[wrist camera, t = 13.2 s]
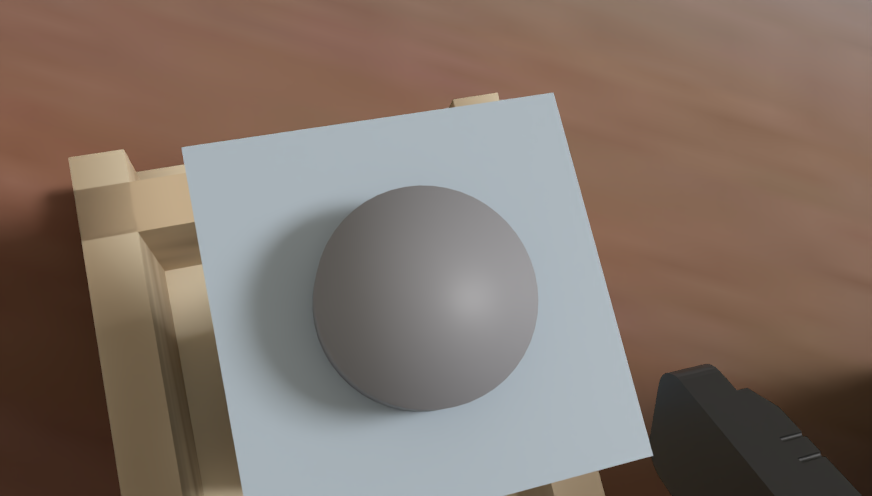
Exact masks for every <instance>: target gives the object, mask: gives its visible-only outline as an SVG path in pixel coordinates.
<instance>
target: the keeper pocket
mask: <svg viewBox="0 0 872 496" xmlns="http://www.w3.org/2000/svg"><path fill="white" fill-rule="evenodd" d="M493 101H499V97H498V93H493V94H486V95H480V96H473V97H467V98H460V99H453V101H452V103H451V105H450V107H449V108H453V107H460V106H466V105H473V104H480V103H487V102H493ZM69 165H70V171H71V178H72V184H73V190H74V197H75V203H76V210H77V216H78V222H79V229H80V235H81V242H82V248H83V254H84V261H85V267H86V274H87V280H88V286H89V293H90V299H91V306H92V312H93V318H94V325H95V331H96V338H97V344H98V350H99V357H100V363H101V370H102V376H103V382H104V389H105V395H106V402H107V408H108V414H109V421H110V427H111V434H112V440H113V446H114V453H115V459H116V466H117V472H118V478H119V485H120V491H121V496H243V491H242V486H241V480H240V474H239V469H238V463H237V457H236V452H235V446H234V440H233V435H232V429H231V424H230V418H229V412H228V407H227V401H226V395H225V390H224V384H223V379H222V373H221V367H220V362H219V356H218V350H217V345H216V339H215V334H214V328H213V322H212V317H211V311H210V305H209V300H208V294H207V289H206V283H205V277H204V272H203V266H202V260H201V255H200V249H199V244H198V238H197V232H196V227H195V221H194V215H193V210H192V204H191V199H190V193H189V187H188V182H187V176H186V170H185V165H178V166H172V167H166V168H159V169H153V170H147V171H140V172H136V171H135V169H134V168H133V166H132V164H131V162H130V160H129V158H128V156H127V155H126V153H125V151H124V149H123V150H116V151H109V152H103V153H96V154H89V155H83V156H76V157H70V158H69ZM505 496H605V494H604V490H603V486H602V482H601V479H600V475H599V471H594V472H591V473H587V474H583V475H580V476H576V477H572V478H568V479H565V480H561V481H557V482H554V483H550V484H546V485H542V486H539V487H535V488H531V489H528V490H524V491H520V492H516V493H513V494H509V495H505Z"/></svg>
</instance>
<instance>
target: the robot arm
mask: <svg viewBox="0 0 872 496" xmlns="http://www.w3.org/2000/svg"><path fill="white" fill-rule="evenodd" d="M649 442H650V446H651V449H652V453H653V456H651V458H652V461H653V464H654V467H655V469H656V472H657V473H658V475H659V477H660V479H661V480H662V482H663V483H664V485H665V486H666V488H667V489H668V490H669V492H670V493H671V495H672V496H862V495H861V494H860V493H859V492H858V491H857V490H856V489H855V488H854V487H853V486H852V484H851V483H850V482H849V481H848V480H847V479H846V478H845V477H844V476H843V475H842V474H841V473H840V472H839V471H838V470H837V469H836V467H835V466H834V465H833V464H832V463H831V462H830V461H829V460H828V459H827V458H826V457H822V456H821V453H820V450H819V449H818V448H817V447H816V446H815V445H814V444H813V443H812V442H811V441H810V440H809V439H808V438H807V437H806V436H805V437H803V435H802V431H801V430H800V429H799V428H798V427H797V426H796V425H795V424H794V423H793V422H792V421H791V420H790V419H789V417H788V416H787V415H786V414H785V413H784V412H783V411H782V410H781V409H780V408H779V407H778V406H776V405H775V404H773V403H771V402H770V401H768V400H766V399H765V398H763V397H761V396H760V395H758V394H756V393H755V392H753V391H751V390H750V389H748V388H745V389H741V390H736V389H735V388H734V387H733V386H732V384H731V383H730V382H729V381H728V380H727V379H726V378H725V377H724V376H723V374H722V373H721V372H720V371H719V370H718V369H717V368H716V367H714V366H712V365H710V364H703V365H699V366H695V367H691V368H686V369H682V370H678V371H674V372H670V373H665V374H664V375H663V376H662V377H661V379H660V382H659V387H658V393H657V398H656V404H655V410H654V416H653V422H652V428H651V434H650V441H649Z"/></svg>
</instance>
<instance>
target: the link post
mask: <svg viewBox="0 0 872 496" xmlns="http://www.w3.org/2000/svg"><path fill="white" fill-rule="evenodd" d="M181 148H182V154H183V159H184V165H185V170H186V176H187V182H188V187H189V193H190V199H191V204H192V210H193V215H194V221H195V227H196V232H197V238H198V244H199V249H200V255H201V260H202V266H203V272H204V277H205V283H206V289H207V294H208V300H209V305H210V311H211V317H212V322H213V328H214V334H215V339H216V345H217V350H218V356H219V362H220V367H221V373H222V379H223V384H224V390H225V395H226V401H227V407H228V412H229V418H230V424H231V429H232V435H233V440H234V446H235V452H236V457H237V463H238V469H239V474H240V480H241V486H242V491H243V496H505V495H509V494H513V493H516V492H520V491H524V490H528V489H531V488H535V487H539V486H542V485H546V484H550V483H554V482H557V481H561V480H565V479H568V478H572V477H576V476H580V475H583V474H587V473H591V472H594V471H598V470H602V469H606V468H609V467H613V466H617V465H620V464H624V463H628V462H632V461H635V460H639V459H643V458H646V457H650V456H653V453H652V449H651V446H650V442H649V438H648V435H647V431H646V427H645V424H644V420H643V417H642V413H641V409H640V406H639V402H638V398H637V395H636V391H635V387H634V384H633V380H632V377H631V373H630V369H629V366H628V362H627V358H626V355H625V351H624V347H623V344H622V340H621V337H620V333H619V329H618V326H617V322H616V318H615V315H614V311H613V308H612V304H611V300H610V297H609V293H608V289H607V286H606V282H605V278H604V275H603V271H602V268H601V264H600V260H599V257H598V253H597V249H596V246H595V242H594V238H593V235H592V231H591V228H590V224H589V220H588V217H587V213H586V209H585V206H584V202H583V198H582V195H581V191H580V188H579V184H578V180H577V177H576V173H575V169H574V166H573V162H572V158H571V155H570V151H569V148H568V144H567V140H566V137H565V133H564V129H563V126H562V122H561V118H560V115H559V111H558V108H557V104H556V100H555V97H554V93H548V94H541V95H534V96H527V97H521V98H514V99H507V100H500V101H493V102H487V103H480V104H473V105H466V106H460V107H453V108H446V109H439V110H432V111H426V112H419V113H412V114H405V115H398V116H392V117H385V118H378V119H371V120H364V121H358V122H351V123H344V124H337V125H330V126H324V127H317V128H310V129H303V130H296V131H290V132H283V133H276V134H269V135H263V136H256V137H249V138H242V139H235V140H229V141H222V142H215V143H208V144H201V145H195V146H188V147H181Z"/></svg>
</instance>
